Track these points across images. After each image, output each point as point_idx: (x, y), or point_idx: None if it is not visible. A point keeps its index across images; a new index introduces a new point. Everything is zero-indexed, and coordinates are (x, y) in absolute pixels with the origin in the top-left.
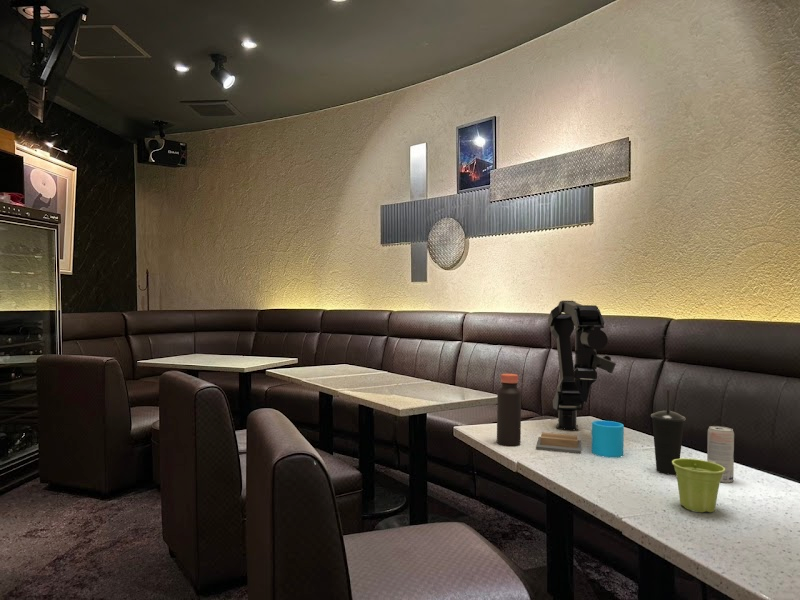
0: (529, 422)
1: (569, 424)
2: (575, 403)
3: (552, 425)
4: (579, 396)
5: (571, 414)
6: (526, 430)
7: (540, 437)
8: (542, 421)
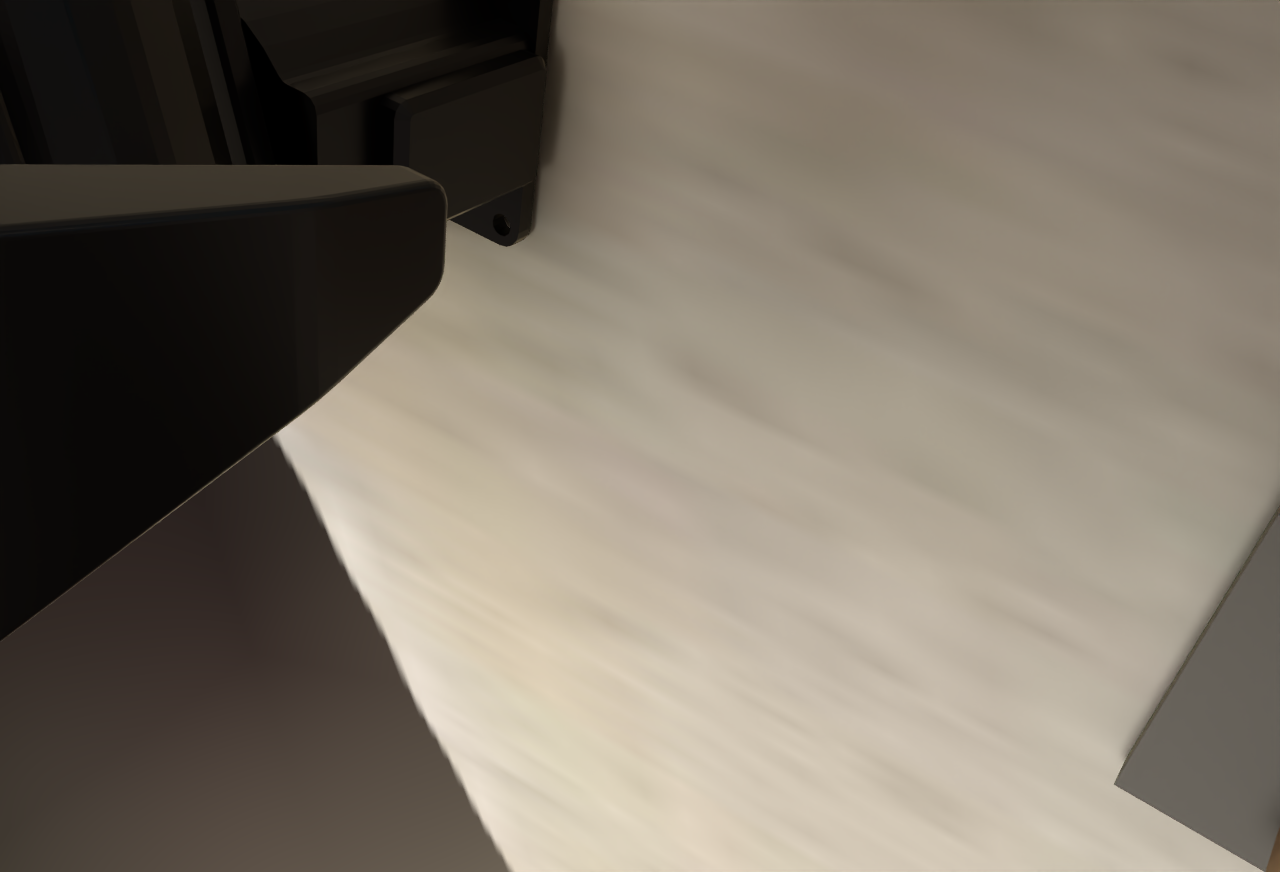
0: (316, 426)
1: (503, 105)
2: (205, 107)
3: None
4: (47, 63)
5: (362, 106)
6: (660, 640)
7: (1164, 787)
8: None
